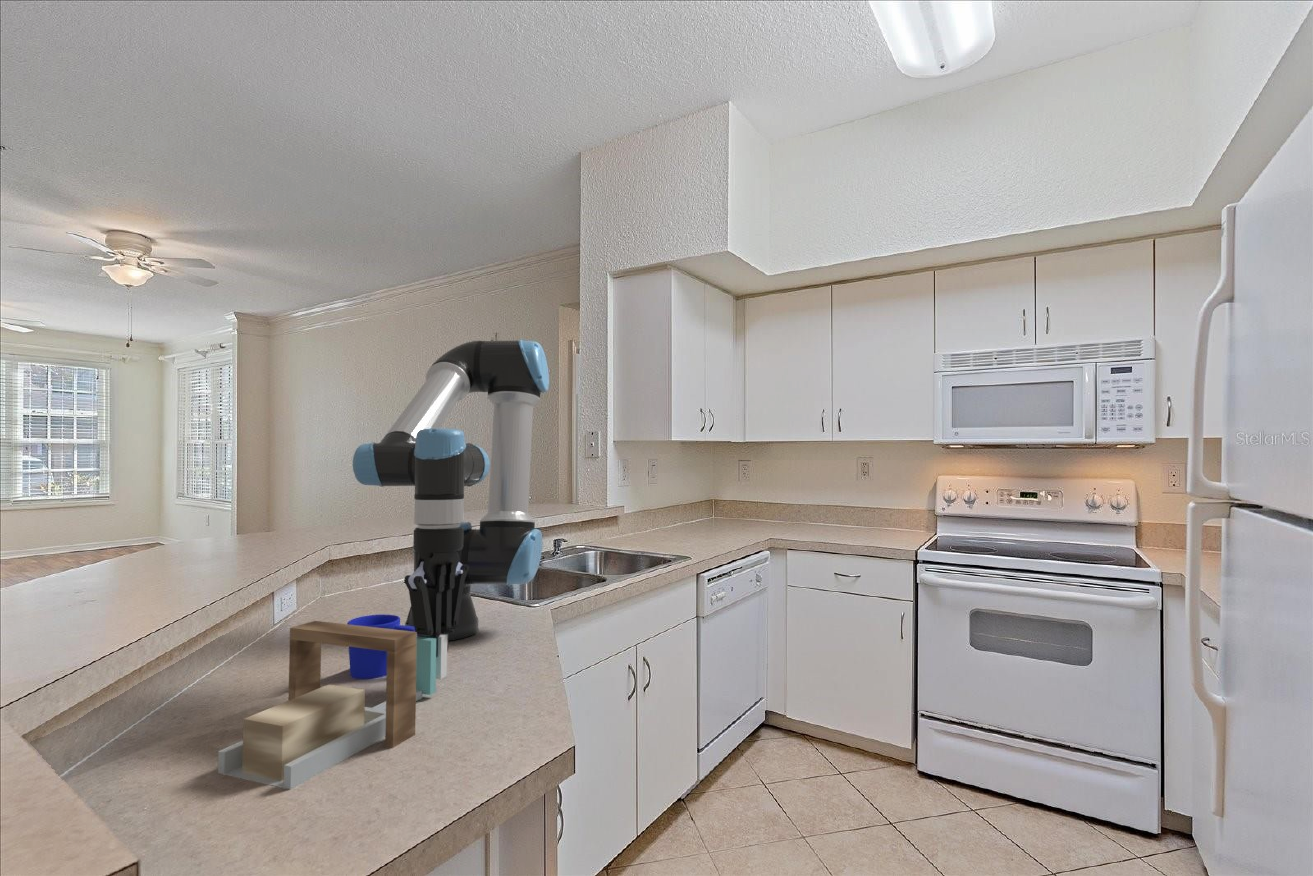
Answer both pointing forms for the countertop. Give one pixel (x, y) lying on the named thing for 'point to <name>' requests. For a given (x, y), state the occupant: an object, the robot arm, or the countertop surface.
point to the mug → (370, 660)
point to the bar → (299, 728)
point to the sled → (343, 745)
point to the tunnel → (393, 641)
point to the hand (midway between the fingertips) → (436, 676)
